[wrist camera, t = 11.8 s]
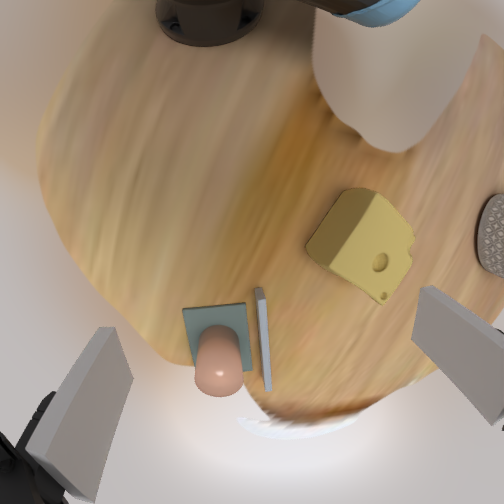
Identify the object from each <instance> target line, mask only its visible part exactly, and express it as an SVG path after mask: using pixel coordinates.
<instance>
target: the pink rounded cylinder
mask: <svg viewBox="0 0 504 504" xmlns="http://www.w3.org/2000/svg"><path fill="white" fill-rule="evenodd" d="M195 383H196V385H197V387H198V388H199V389H200V390H201V391H202V392H203V393H205V394H207V395H210V396H214V397H225V396H230V395H232V394H234V393H236V392H237V391H238V390H239V389H240V388H241V387H242V385H243V370H242V362H241V353H240V344H239V338H238V335H237V334H236V332H235V331H234V330H233V329H231V328H230V327H227V326H224V325H213V326H210V327H208V328H206V329H205V330H204V331H203V332H202V333H201V335H200V337H199V344H198V352H197V360H196V369H195Z"/></svg>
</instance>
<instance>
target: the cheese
mask: <svg viewBox="0 0 504 504" xmlns="http://www.w3.org/2000/svg"><path fill="white" fill-rule="evenodd" d="M413 232H414V231H413V229H412V227H411V226H410V225H409V224H408V223H407V221H406V220H405V219H404V218H403V217H402V216H401V215H400V214H399V212H398V211H397V210H396V209H395V208H394V207H393V206H392V204H391V203H390V202H389V201H388V200H387V199H385V198H384V197H383V196H382V195H381V194H379V193H378V192H375V191H372V190H369V189H366V188H353V189H349V190H345V191H343V192H342V194H341V195H340V197H339V198H338V199H337V201H336V202H335V204H334V205H333V206H332V208H331V209H330V211H329V212H328V214H327V215H326V217H325V218H324V220H323V221H322V223H321V224H320V226H319V227H318V229H317V230H316V232H315V233H314V235H313V236H312V237H311V239H310V240H309V242H308V243H307V244H306V246H305V248H306V250H307V252H308V254H309V256H310V257H311V258H312V259H313V260H314V261H315V262H316V263H317V264H318V265H320V266H321V267H322V268H324V269H326V270H327V271H329V272H331V273H333V274H335V275H337V276H339V277H342V278H344V279H345V280H347V281H349V282H350V283H352V284H354V285H355V286H357V287H358V288H360V289H361V290H363V291H364V292H365V293H366V294H368V295H369V296H370V297H371V298H372V299H373V300H375V301H376V302H377V303H379V304H380V305H382V306H383V305H384V304H385V303H386V302H387V300H388V299H389V298H390V296H391V295H392V294H393V292H394V291H395V289H396V288H397V287H398V285H399V284H400V282H401V281H402V279H403V278H404V276H405V274H406V273H407V271H408V270H409V268H410V266H411V265H412V262H413V259H412V256H411V254H410V248H411V246H412V244H413V242H414V241H415V239H416V238H415V236H414V235H413Z"/></svg>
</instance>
